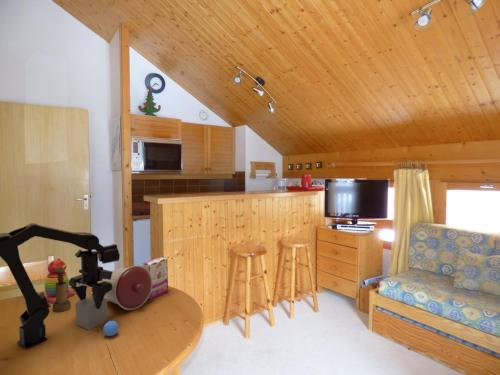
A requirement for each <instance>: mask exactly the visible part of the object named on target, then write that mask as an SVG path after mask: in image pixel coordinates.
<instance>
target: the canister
mask: <svg viewBox="0 0 500 375" xmlns="http://www.w3.org/2000/svg"><path fill="white" fill-rule="evenodd" d="M111 271H112V272H113V273H112V276H111V280H108V279H103V281H101V282H104V281H106V282H109V283H111V284H112V288H113V289H112V290H111V291H109V292H107V293H106V294H105V296H104V298H105V299H107V301H110V302H111V303H114V304H116V305H118V306H119V307H120V308H122V310H127V311H134V310H137V309H139V308H140V307H142V306H143V305H144V304H145V303H146V302H147V300H149V299H148V298H149V296H150V293H151V290H152V277H151V275H150V273H149V271H148V270H147V269H146V268H144V267H143V265H142V266H141V265H131V266H130V267H122V268H116V269H112V270H111Z"/></svg>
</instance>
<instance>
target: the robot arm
mask: <svg viewBox="0 0 500 375" xmlns="http://www.w3.org/2000/svg"><path fill="white" fill-rule="evenodd" d="M34 237H38V238H43V239H47V240H52V241H59V242H61V243H67V244H71V245H74V246H75V247H79V248H81V249H78V251H77V252H76V253H74V256H75V257H76V258H78V259H79V258H80V262H81V263H80V265H81V268H80V269H78V273H80V274H79V275H76V276H73V277H71V278H70V279H68V280H69V286H70V288H71V289H72V291H73V292H74V294H75V295H76V296H77V298H78V299H79V301H80V300H83V299H85V298H87V289H88V287H90V288H91V296H92V297H93V300H94V302H95V305H96V308H97V309H99V308H100V307H101V304H102V301H103V298H105V297H104V296H105V294H106V293H107V292H109V291H111V290H112V289H113V288H112V284H111V283H109V282H106V281H104V282H102V281H103V279H108V280H111V276H112V273H113V272H112V271H113V270H107V269H104V267H102V266H99V262H100V263H102V264H103V265H105V264H109V263H113V262H114V263H115V262H119V260H120V254H121V253H120V251H119V249H118V244H115V243H114V244H110V245H104V246H103V245H102V244H101V243H100V239H99V237H98V236H97V235H95V234H93V233H91V232H86V231H85V232H83V231H75V232H74V231H68V230H64V229H59V228H54V227H50V226H45V225H42V224H38V223H35V222H32V223H29V224H27V225H25V226H22V227H20V228H17V229H14V230H11V231H9V232H1V233H0V258H1V259H2V260H3V262H5V264H6V265H7V267H8V268H9V271H10V272H11V275H12V277H13V279H14V281H15V283H16V284H17V287H18V288H19V290H20V292H21V295H22V296H23V298H24V305H25V311H24V312H23V313H22V314H21V315H20V316H19V321H20V324H21V325H20V326H19V327H18V329H19V330H18V332H19V341H17V342H16V343H17V344H18V345H19V346H21V347H23V348H25V349H29V348H32V347H34V346H36V345H38V344H40V343H42V342H43V343H44V342H45V341H47V340H48V337H46V336H47V334H46V333H47V332H46V324H45V323H44V322H45V319H46V318H47V317H48V316H49V314H50V308H51V305H50V303H49V302H48V301H47V299H46V297H47V296H46V295H45V292H40V293H39V292H37V291H36V288H35V287H34V284H33V282H32V281H31V279H30V277H29V274H28V273H27V272H28V271H26V267H25V266H24V264H23V263H22V260H21V258H20V252H19V246H21V245H23V244H24V243H26V242H27V241H29V240H31V239H32V238H34ZM82 249H84V250H82ZM93 250H94V251H93ZM69 286H68V287H69Z"/></svg>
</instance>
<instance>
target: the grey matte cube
mask: <svg viewBox="0 0 500 375" xmlns="http://www.w3.org/2000/svg"><path fill="white" fill-rule="evenodd" d="M107 301H108V299H106V298H105V297H104V298H103V301H102V304H101V307H100V308H99V309H97V308H96V305H95V302H94V300H93V297H92V295H90V296H88V297H86V298H85V299H83V300H80V299H79V300H78V301H76V302H75V323H76V324H75V325H76V326H78V327H81V328H83V329H85V330H88V331H89V330H91V329H94V328H96V327H98V326H100V325H102V324H104V323H105V322H106V323H107V322H108V302H107Z"/></svg>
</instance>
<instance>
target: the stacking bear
mask: <svg viewBox="0 0 500 375" xmlns="http://www.w3.org/2000/svg"><path fill="white" fill-rule="evenodd" d="M58 267H63V268H64V270H65V271H64V273H63V277H64V280H63V282H66V283H67V299H68V298H71V297H73V296H75V291H74V290H69V280H70V279H69V277H68V274H67V272H66V269H67V264H66V262H64V261H63V260H62V259H61V258H57V259H53V260H52V261H50V262H49V263H48V265H47V272H48V274H47V276H46V277H45V280H44V291H45V294H46V296H45V297H46V299H47V301H48V303H49V304H54V303H55V302H56V283H58V282H59V281H58V277H59V275H58V274H57V272H56V270H57V268H58Z"/></svg>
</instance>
